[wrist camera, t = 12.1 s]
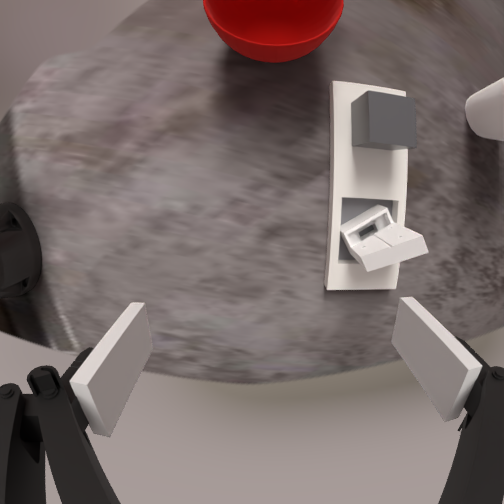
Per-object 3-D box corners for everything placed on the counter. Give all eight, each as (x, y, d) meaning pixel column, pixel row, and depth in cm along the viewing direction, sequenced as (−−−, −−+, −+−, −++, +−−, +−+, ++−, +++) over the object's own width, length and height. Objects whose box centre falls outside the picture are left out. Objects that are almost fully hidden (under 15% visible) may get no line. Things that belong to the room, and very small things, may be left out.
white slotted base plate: (324, 283, 37) (338, 312, 29) (329, 85, 30) (346, 63, 23) (390, 283, 36) (416, 309, 29) (398, 94, 30) (429, 79, 22)
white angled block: (425, 217, 31) (428, 252, 25) (354, 243, 37) (338, 280, 31) (414, 189, 30) (415, 217, 24) (342, 218, 37) (323, 251, 30)
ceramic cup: (369, 37, 28) (398, 3, 19) (259, 99, 31) (257, 72, 22) (305, -29, 26) (314, -72, 16) (197, 27, 29) (176, -13, 19)
